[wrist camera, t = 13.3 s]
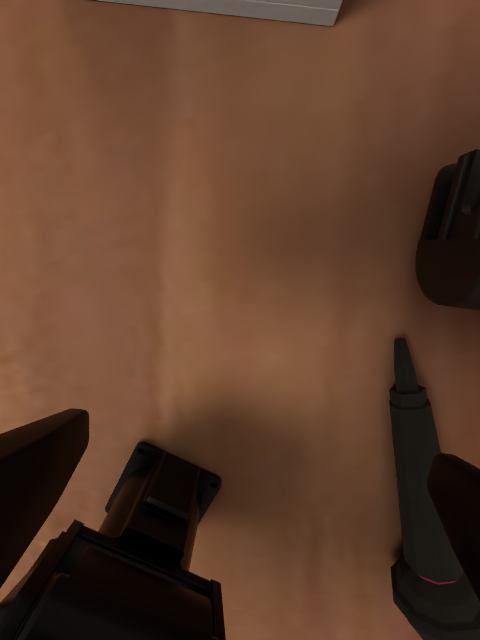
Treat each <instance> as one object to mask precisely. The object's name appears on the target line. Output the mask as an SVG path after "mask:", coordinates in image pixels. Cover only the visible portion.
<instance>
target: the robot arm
mask: <svg viewBox="0 0 480 640" xmlns="http://www.w3.org/2000/svg"><path fill="white" fill-rule="evenodd" d="M88 442H89V414H88V412H87V411H86V410H82V409H74V408H73V409H68V410H65V411H63V412H60V413H57V414H54V415H52V416H49V417H46V418H43V419H41V420H38V421H35V422H32V423H30V424H27V425H24V426H21V427H19V428H16V429H13V430H10V431H8V432H5V433H2V434H0V588H1V587H2V585H3V584H4V582H5V581H6V579H7V578H8V576H9V575H10V573H11V572H12V570H13V569H14V567H15V566H16V564H17V563H18V561H19V560H20V558H21V557H22V555H23V554H24V552H25V551H26V549H27V548H28V546H29V545H30V543H31V542H32V540H33V539H34V537H35V536H36V534H37V533H38V531H39V530H40V528H41V527H42V525H43V524H44V522H45V521H46V519H47V518H48V516H49V515H50V513H51V512H52V510H53V508H54V507H55V505H56V504H57V502H58V500H59V498H60V497H61V495H62V493H63V491H64V489H65V487H66V486H67V484H68V482H69V480H70V478H71V476H72V474H73V472H74V471H75V469H76V467H77V465H78V463H79V461H80V459H81V457H82V456H83V454H84V452H85V450H86V448H87V445H88ZM140 448H143V449H144V450H145V451H142V450H141V449H140ZM212 482H216V484H213V483H212ZM426 484H427V490H428V492H429V495H430V497H431V500H432V502H433V504H434V507H435V509H436V511H437V514H438V516H439V519H440V521H441V523H442V526H443V528H444V531H445V533H446V535H447V538H448V540H449V542H450V545H451V547H452V549H453V551H454V554H455V556H456V558H457V560H458V562H459V564H460V566H461V568H462V570H463V571H464V573H465V575H466V577H467V579H468V581H469V583H470V585H471V587H472V589H473V591H474V593H475V594H476V596H477V598H478V600H479V602H480V469H479V468H477V467H475V466H474V465H472V464H470V463H468V462H466V461H464V460H463V459H461V458H459V457H457V456H455V455H452V454H444V453H437V454H436V455H435V456H434V457H433V460H432V463H431V467H430V470H429V473H428V476H427V482H426ZM220 487H221V478H220V477H219V476H218V475H215V474H213V473H211V472H209V471H207V470H205V469H203V468H200V467H198V466H196V465H194V464H192V463H190V462H188V461H185V460H183V459H181V458H179V457H177V456H175V455H173V454H170V453H168V452H166V451H164V450H162V449H160V448H158V447H155V446H153V445H151V444H149V443H147V442H139V443H138V444H137V446H136V447H135V449H134V451H133V453H132V455H131V457H130V459H129V461H128V463H127V465H126V467H125V469H124V471H123V473H122V475H121V477H120V479H119V481H118V483H117V485H116V487H115V489H114V491H113V493H112V495H111V497H110V499H109V501H108V503H107V505H106V507H105V511H106V512H107V513H108V514H107V516H106V518H105V520H104V521H103V523H102V525H101V527H100V529H99V531H98V532H97V531H95V530H92V529H90V528H88V527H85V526H83V525H84V523H82V522H80V521H77V520H74V521H73V523H72V524H71V526H70V527H69V529H68V530H67V531H66V532H64V531H63V532H62V533H61V534H60V536H59V537H58V538H56V539H51V540H50V541H49V543H48V544H47V546H46V547H45V549H44V550H43V552H42V553H41V555H40V556H39V557H38V559H37V560H36V562H35V563H34V565H33V566H32V567H31V569H30V570H29V571H28V573H27V574H26V575H25V576H24V577H23V578H22V579H21V580H20V582H19V583H18V584H17V585H16V586H15V587H14V588H13V589H12V590H11V592H10V593H9V594H8V595H7V596H6V597H5V598H4V599H3V600H2V601H1V603H0V640H226V639H225V627H224V616H223V604H222V593H221V583H219V582H217V581H215V580H212V579H211V580H210V581H209V580H207V579H205V578H202V577H200V576H198V575H196V574H193V573H191V572H189V566H190V561H191V556H192V551H193V546H194V540H195V535H196V530H197V525H198V524H199V522H200V520H201V519H202V517H203V515H204V514H205V512H206V510H207V509H208V507H209V505H210V504H211V502H212V500H213V499H214V497H215V495H216V494H217V492H218V491H219V489H220Z"/></svg>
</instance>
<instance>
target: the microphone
mask: <svg viewBox="0 0 480 640" xmlns="http://www.w3.org/2000/svg"><path fill="white" fill-rule="evenodd" d="M394 372H395V383H396V385H395V386H394V387H393V388H391V389H390V390H389V391H390V397H391V400H390V401H389V402H390V413H391V423H392V434H393V444H394V455H395V465H396V476H397V486H398V497H399V508H400V518H401V529H402V539H403V549H404V554H403V555H402V556H401V557H400V558H399V559H398V560H397V561H396V563H395V564H394V565H393V566H392V567H391V577H392V589H393V599H394V603H395V604H396V605H397V606H398V608H399V609H400V610H401V612H402V613H403V614H404V615H405V617H406V618H407V619H408V621H409V622H410V624H411V625H412V626H413V627H414V629H415V630H416V631H417V633H418V634H419V635H420V636H421V638H422V639H423V640H480V602H479V600H478V598H477V596H476V594H475V593H474V591H473V589H472V587H471V585H470V583H469V581H468V579H467V577H466V575H465V573H464V571H463V570H462V568H461V566H460V564H459V562H458V560H457V558H456V556H455V554H454V551H453V549H452V547H451V545H450V542H449V540H448V538H447V535H446V533H445V531H444V528H443V526H442V523H441V521H440V519H439V516H438V514H437V511H436V509H435V507H434V504H433V502H432V500H431V497H430V495H429V492H428V490H427V484H426V482H427V476H428V473H429V470H430V467H431V463H432V460H433V457H434V456H435V455H436V454H437V453H441V452H440V447H439V442H438V437H437V433H436V428H435V423H434V418H433V414H432V409H431V404H430V402H429V400H428V399H427V394H426V388H424V387H422V386H419V385H418V383H417V379H416V374H415V370H414V367H413V364H412V360H411V357H410V354H409V351H408V347H407V344H406V341H405V338H399V339H395V342H394Z"/></svg>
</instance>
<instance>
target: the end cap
mask: <svg viewBox="0 0 480 640" xmlns="http://www.w3.org/2000/svg"><path fill="white" fill-rule="evenodd" d="M416 275H417V280H418V283H419V287H420V288H421V290H422V292H423V294H424V295H425V296H426V297H427V298H428V299H429V300H430V301H432V302H434V303H435V304H438V305H443V306H450V307H458V308H466V309H474V310H480V150H479V149H476V150H474V151H471V152H469V153H467V154H464V155H462V156H460V157H459V159H458V162H457V164H451V165H448V166H445V167H444V168H442V169H441V170H440V171H439V173H438V175H437V177H436V180H435V184H434V188H433V192H432V196H431V200H430V204H429V207H428V211H427V215H426V219H425V223H424V227H423V231H422V235H421V240H419V241H418V246H417V252H416Z"/></svg>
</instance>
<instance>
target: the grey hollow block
mask: <svg viewBox="0 0 480 640" xmlns="http://www.w3.org/2000/svg"><path fill="white" fill-rule="evenodd" d="M97 1H106V2H115V3H124V4H133V5H142V6H151V7H160V8H170V9H179V10H188V11H197V12H206V13H215V14H224V15H234V16H243V17H252V18H261V19H270V20H279V21H288V22H298V23H307V24H316V25H325V26H333V25H334V23H335V20H336V17H337V15H338V12H339V9H340V7H341V4H342V1H343V0H97Z"/></svg>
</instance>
